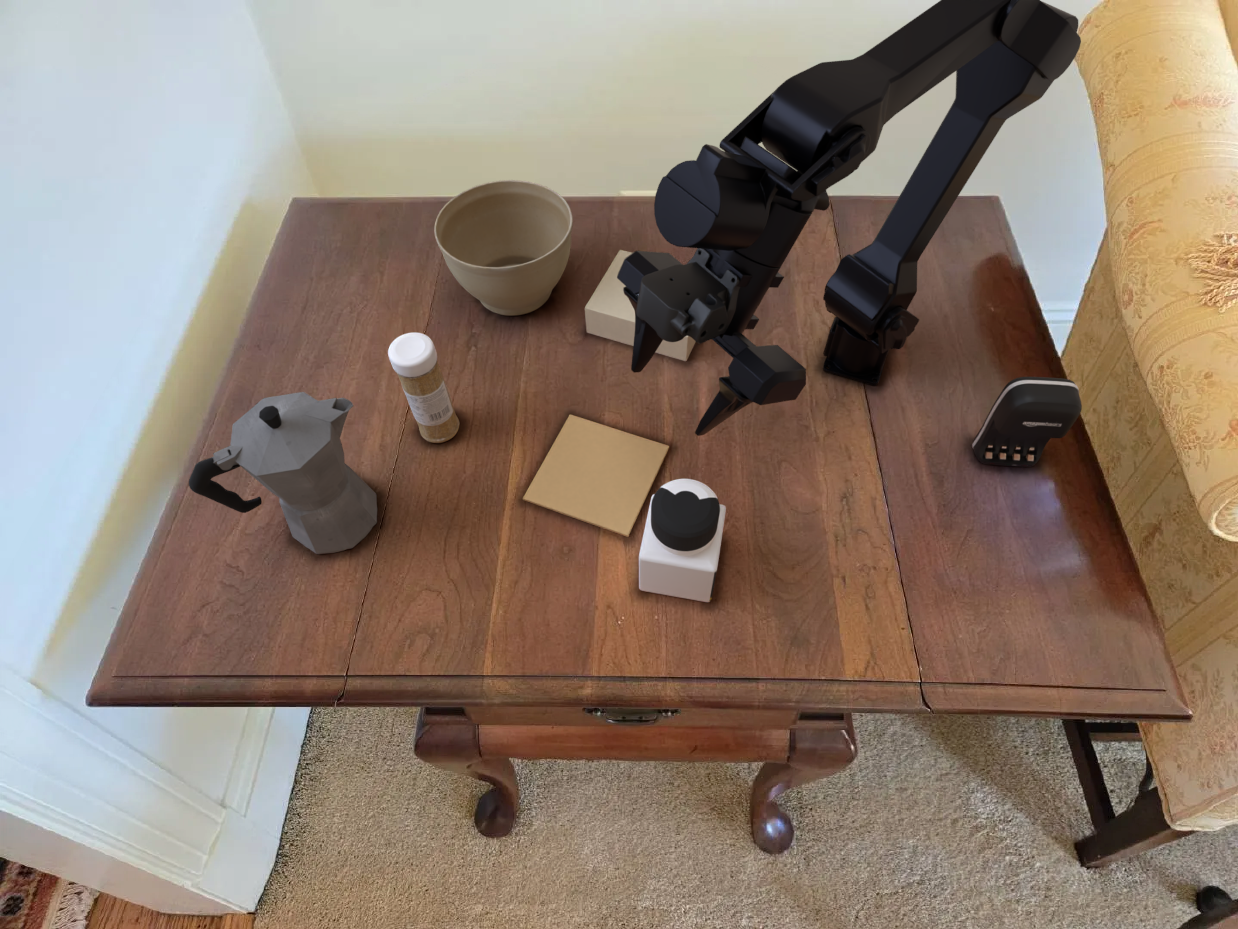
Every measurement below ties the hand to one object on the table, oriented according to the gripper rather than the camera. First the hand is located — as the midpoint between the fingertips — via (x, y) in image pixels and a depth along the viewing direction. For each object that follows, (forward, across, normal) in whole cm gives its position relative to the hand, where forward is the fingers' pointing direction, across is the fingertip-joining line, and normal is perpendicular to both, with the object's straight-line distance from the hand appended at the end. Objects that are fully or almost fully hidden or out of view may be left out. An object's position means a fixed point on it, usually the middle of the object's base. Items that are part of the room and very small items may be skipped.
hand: (666, 401), depth 70 cm
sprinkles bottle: (+20, -22, -5) cm, 30 cm away
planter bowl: (+11, -35, +11) cm, 38 cm away
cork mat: (+15, -6, +4) cm, 16 cm away
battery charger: (-4, +20, +34) cm, 40 cm away
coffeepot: (+28, -18, -18) cm, 38 cm away
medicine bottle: (+15, +8, +4) cm, 17 cm away
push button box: (+5, -20, +20) cm, 29 cm away
